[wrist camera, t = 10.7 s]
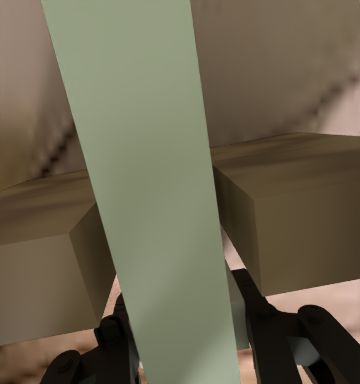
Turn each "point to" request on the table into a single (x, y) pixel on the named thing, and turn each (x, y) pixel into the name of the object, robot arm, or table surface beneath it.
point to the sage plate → (151, 177)
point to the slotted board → (228, 216)
